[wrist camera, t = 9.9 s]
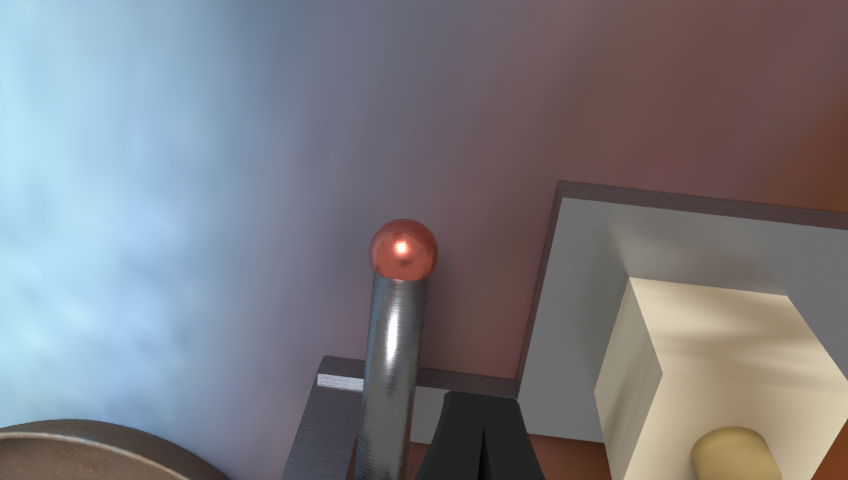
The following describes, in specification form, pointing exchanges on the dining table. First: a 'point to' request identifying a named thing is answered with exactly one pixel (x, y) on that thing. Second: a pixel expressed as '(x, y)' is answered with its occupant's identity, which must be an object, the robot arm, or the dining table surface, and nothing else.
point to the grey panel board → (605, 308)
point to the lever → (393, 347)
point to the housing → (715, 387)
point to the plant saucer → (94, 453)
